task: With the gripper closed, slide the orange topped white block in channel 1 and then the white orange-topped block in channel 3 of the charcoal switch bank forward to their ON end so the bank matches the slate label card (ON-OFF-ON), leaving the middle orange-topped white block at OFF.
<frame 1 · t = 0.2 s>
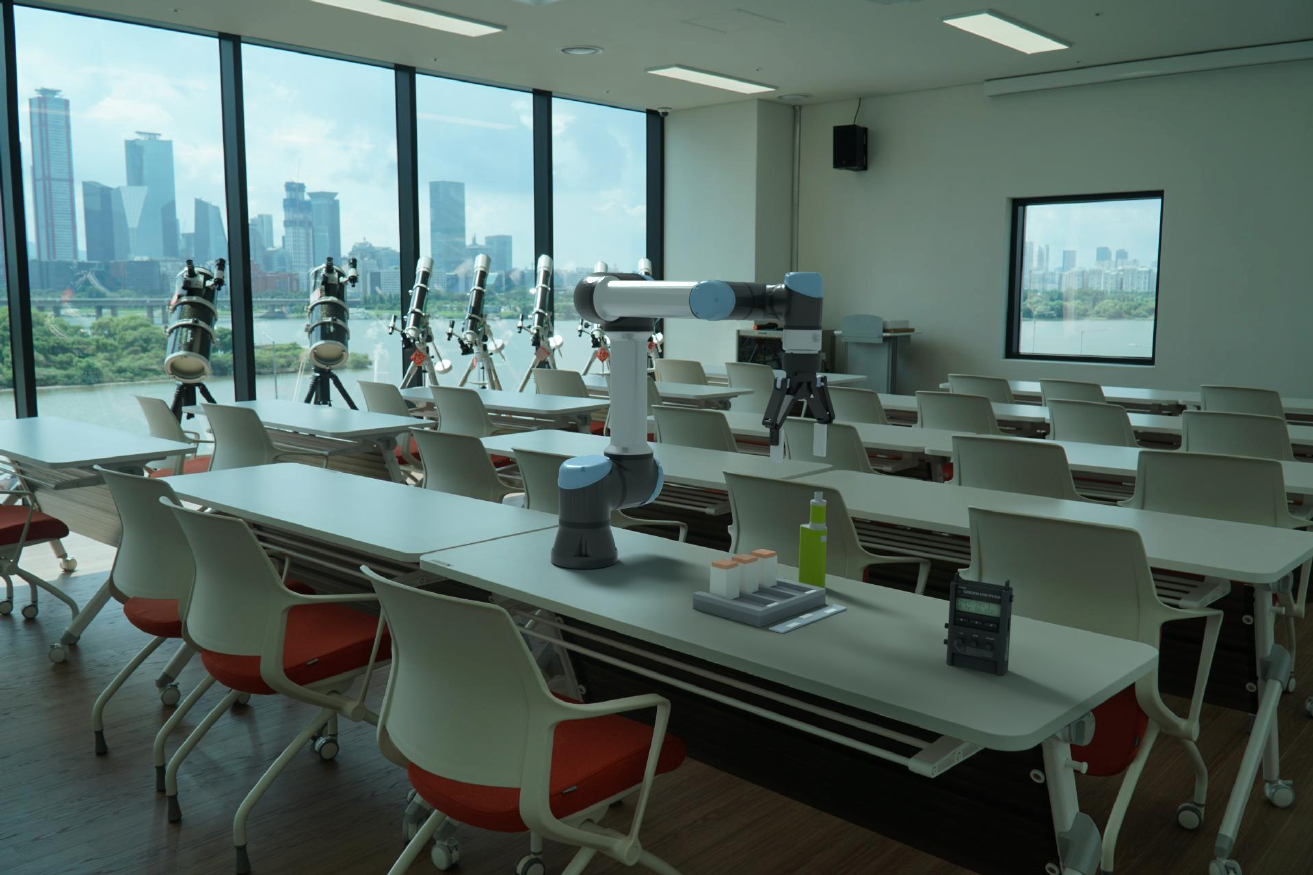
hand: (798, 459, 198), 28 cm above the table, fingers open, 13 cm apart
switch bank: (759, 605, 193), on the table
geiger counter: (974, 668, 161), on the table
orange-topped white block 2: (744, 573, 195), point 6 cm above the table, slide at 0.0 cm
orange topped white block 1: (724, 579, 191), point 6 cm above the table, slide at 0.0 cm
white orange-topped block 3: (762, 568, 199), point 6 cm above the table, slide at 0.0 cm
vape: (811, 587, 207), on the table
label card: (809, 618, 185), on the table
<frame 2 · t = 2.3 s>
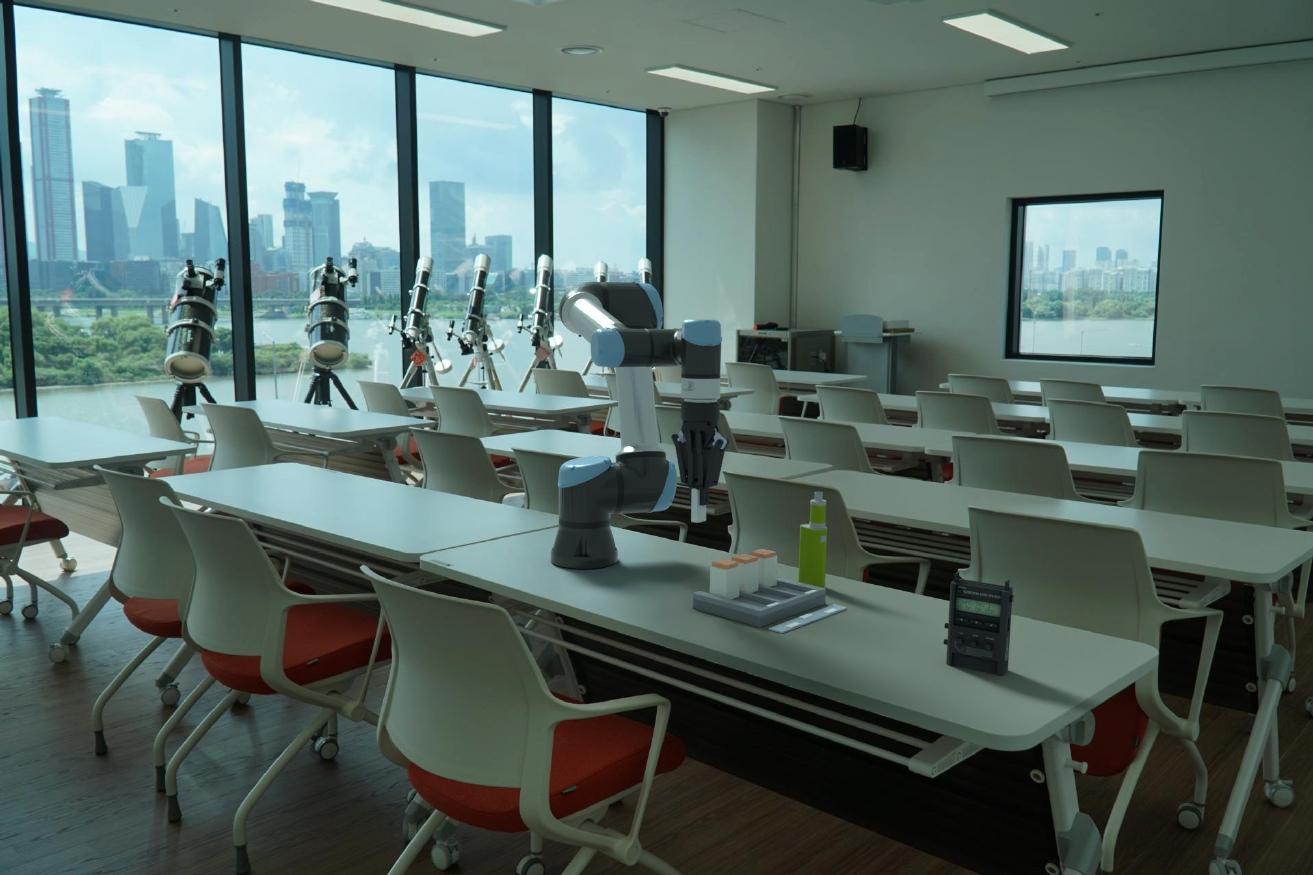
hand: (698, 521, 194), 16 cm above the table, fingers closed
nothing on the table moved.
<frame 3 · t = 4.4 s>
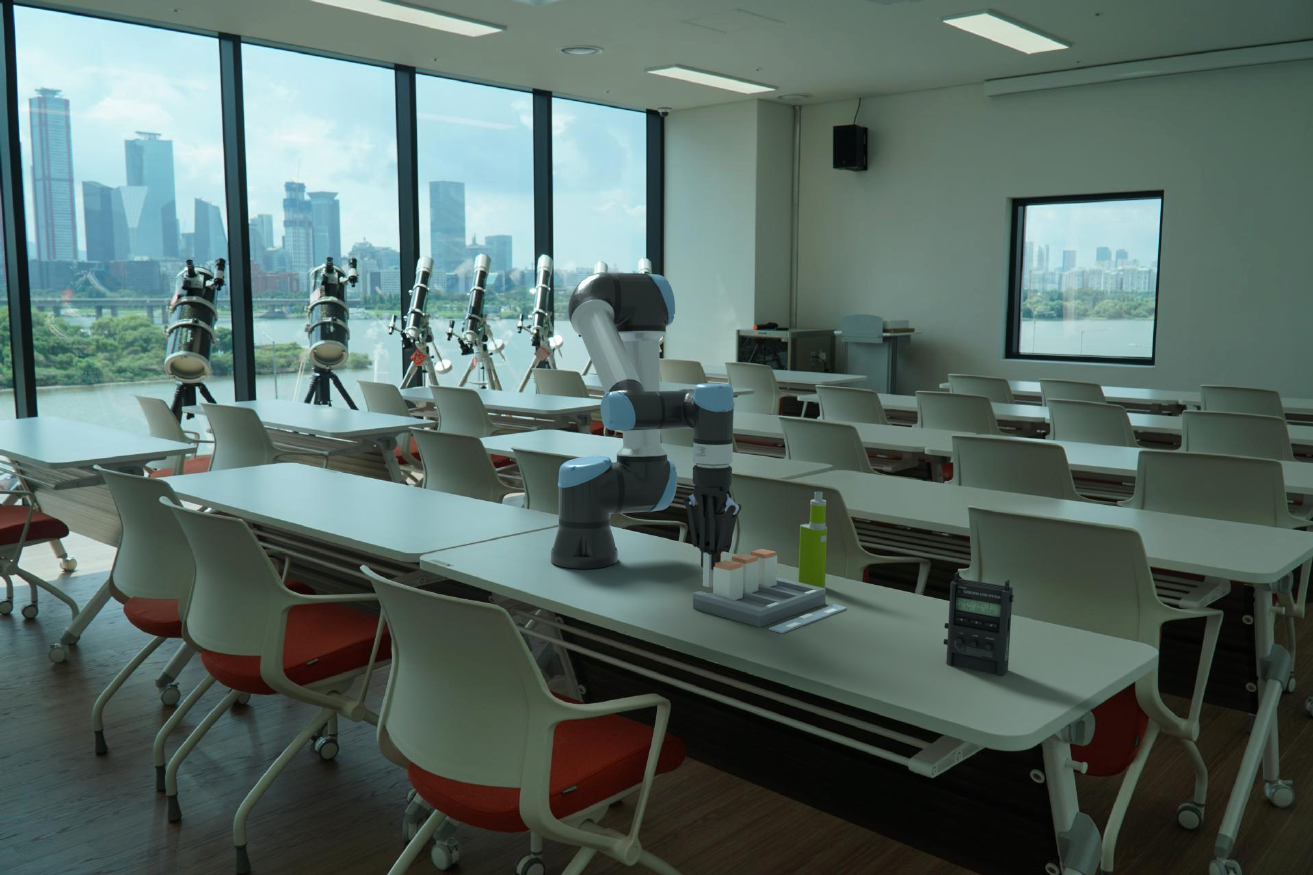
hand: (710, 585, 193), 4 cm above the table, fingers closed
orange topped white block 1: (728, 580, 190), point 6 cm above the table, slide at 0.8 cm, touching gripper
everything else where it was.
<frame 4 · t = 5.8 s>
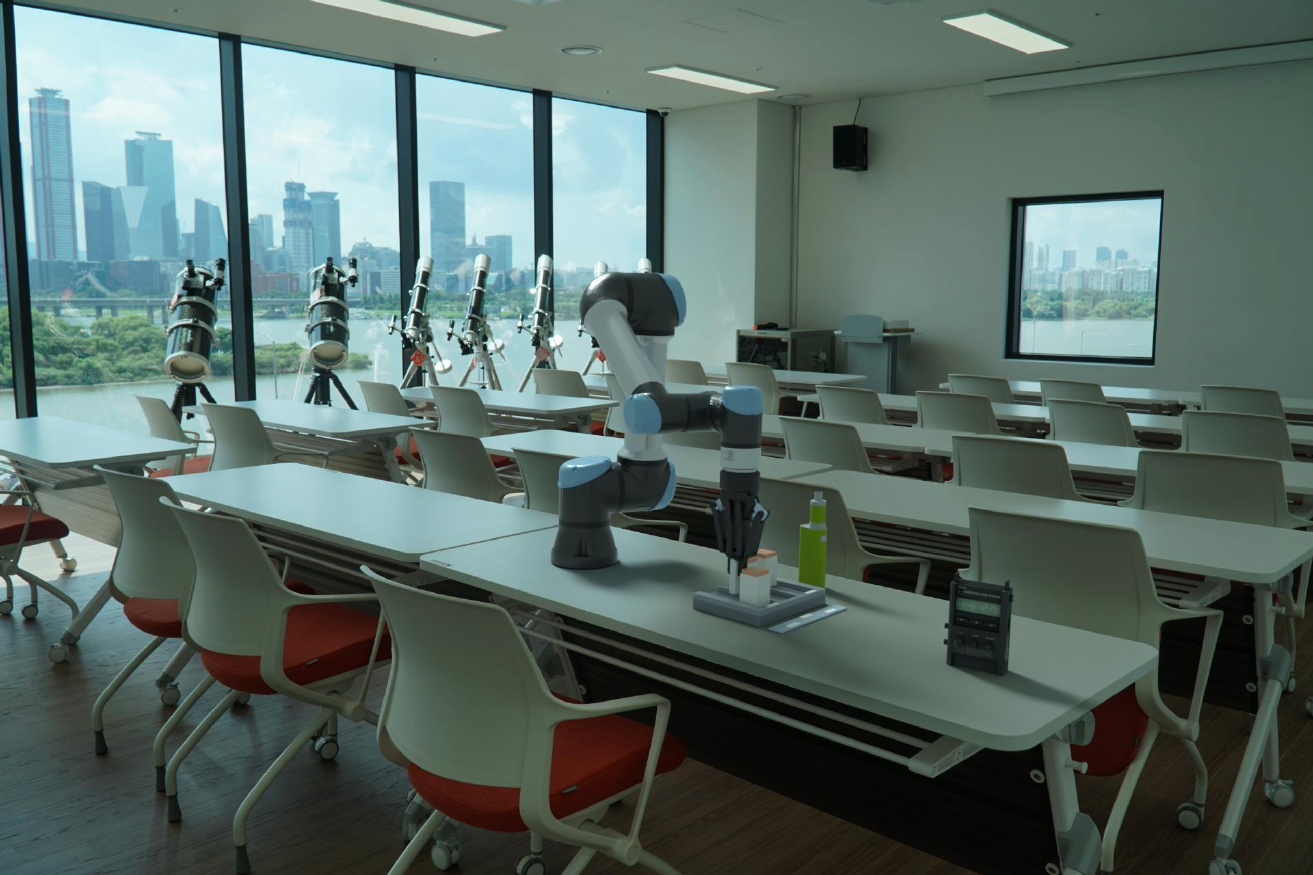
hand: (736, 591, 189), 4 cm above the table, fingers closed
orange topped white block 1: (755, 587, 186), point 6 cm above the table, slide at 7.3 cm, touching gripper
everything else where it was.
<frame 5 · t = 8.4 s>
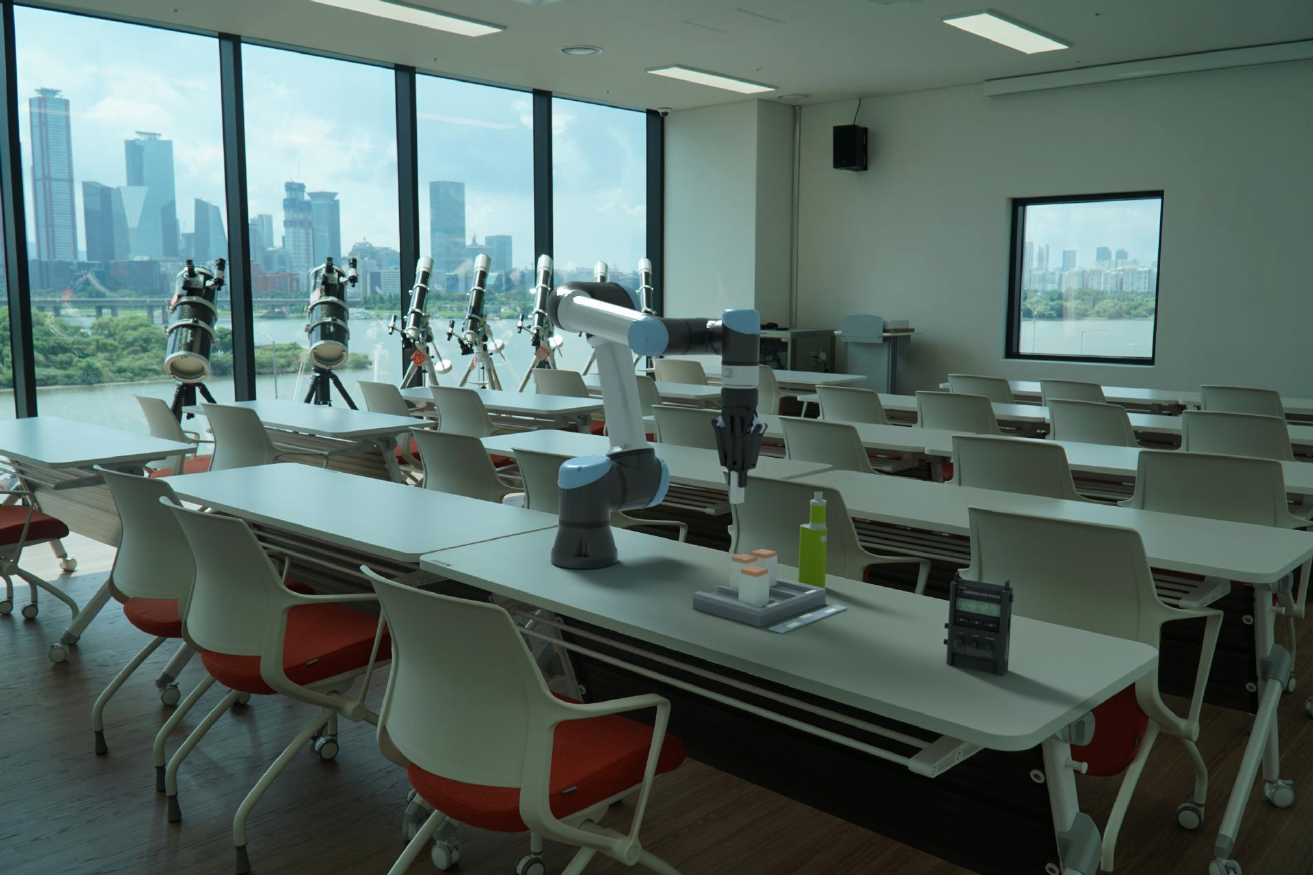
hand: (737, 502, 202), 18 cm above the table, fingers closed
orange topped white block 1: (753, 586, 186), point 6 cm above the table, slide at 7.0 cm
everything else where it was.
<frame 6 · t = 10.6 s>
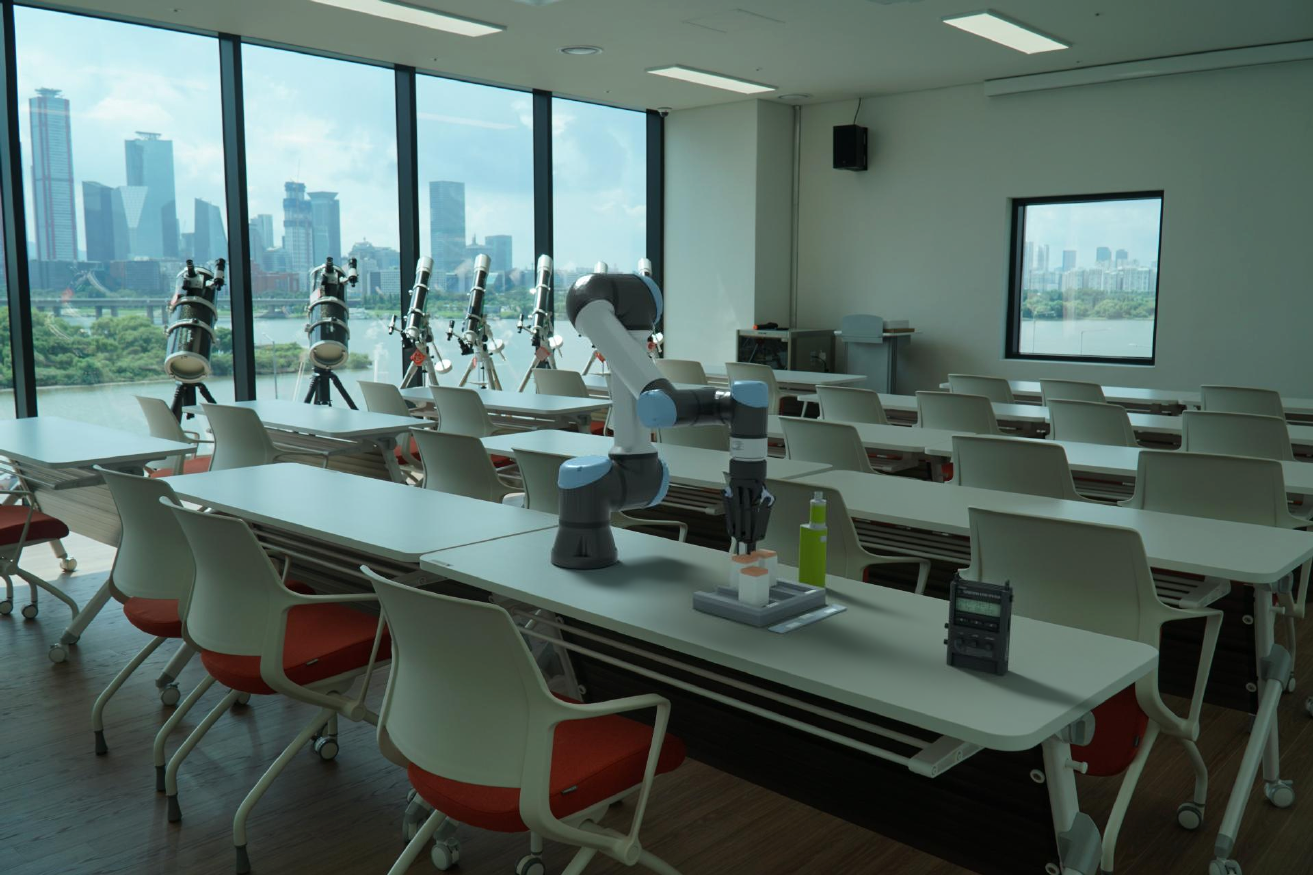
hand: (745, 572, 202), 4 cm above the table, fingers closed
white orange-topped block 3: (763, 568, 199), point 6 cm above the table, slide at 0.0 cm, touching gripper
everything else where it was.
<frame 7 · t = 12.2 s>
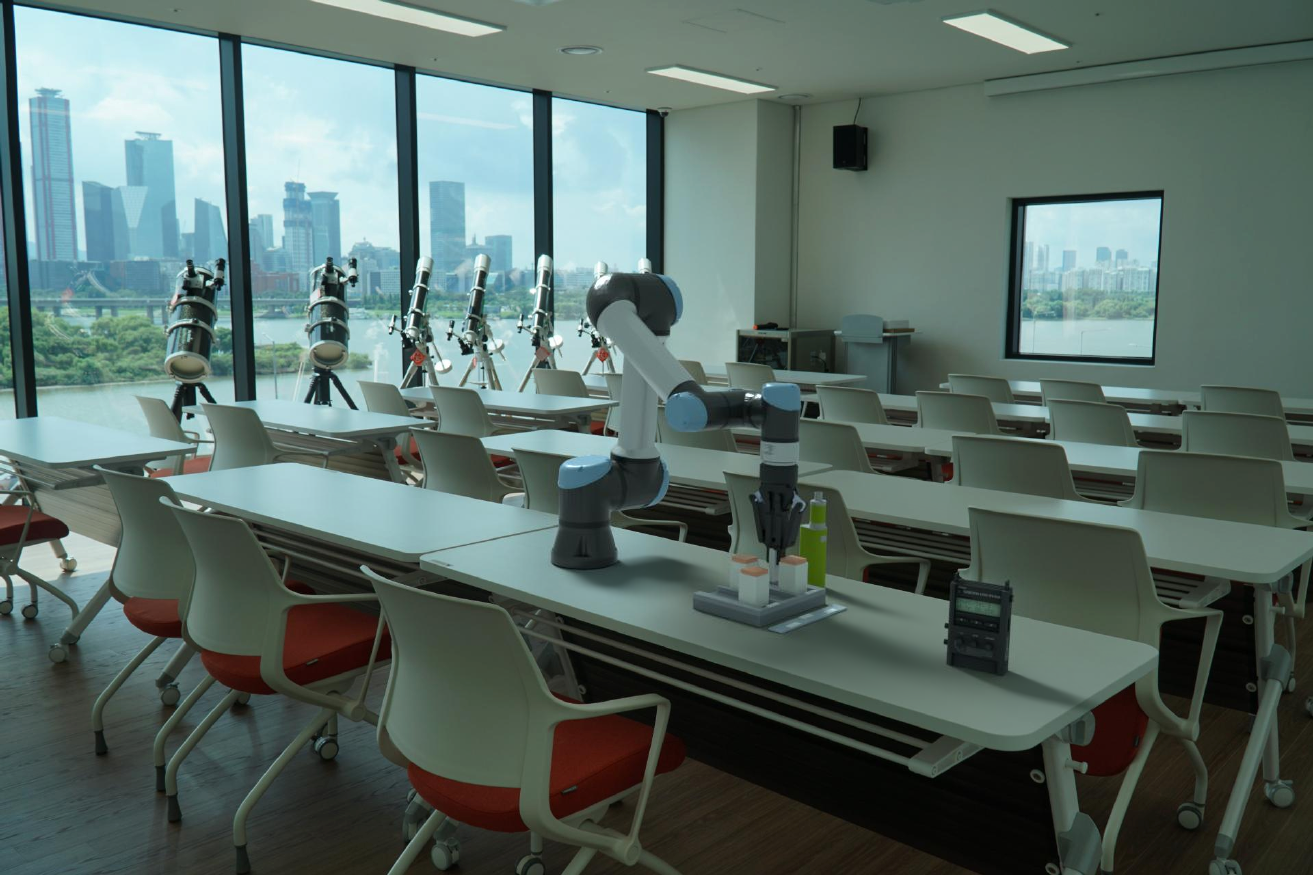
hand: (775, 580, 197), 4 cm above the table, fingers closed
white orange-topped block 3: (793, 575, 194), point 6 cm above the table, slide at 7.3 cm, touching gripper
everything else where it was.
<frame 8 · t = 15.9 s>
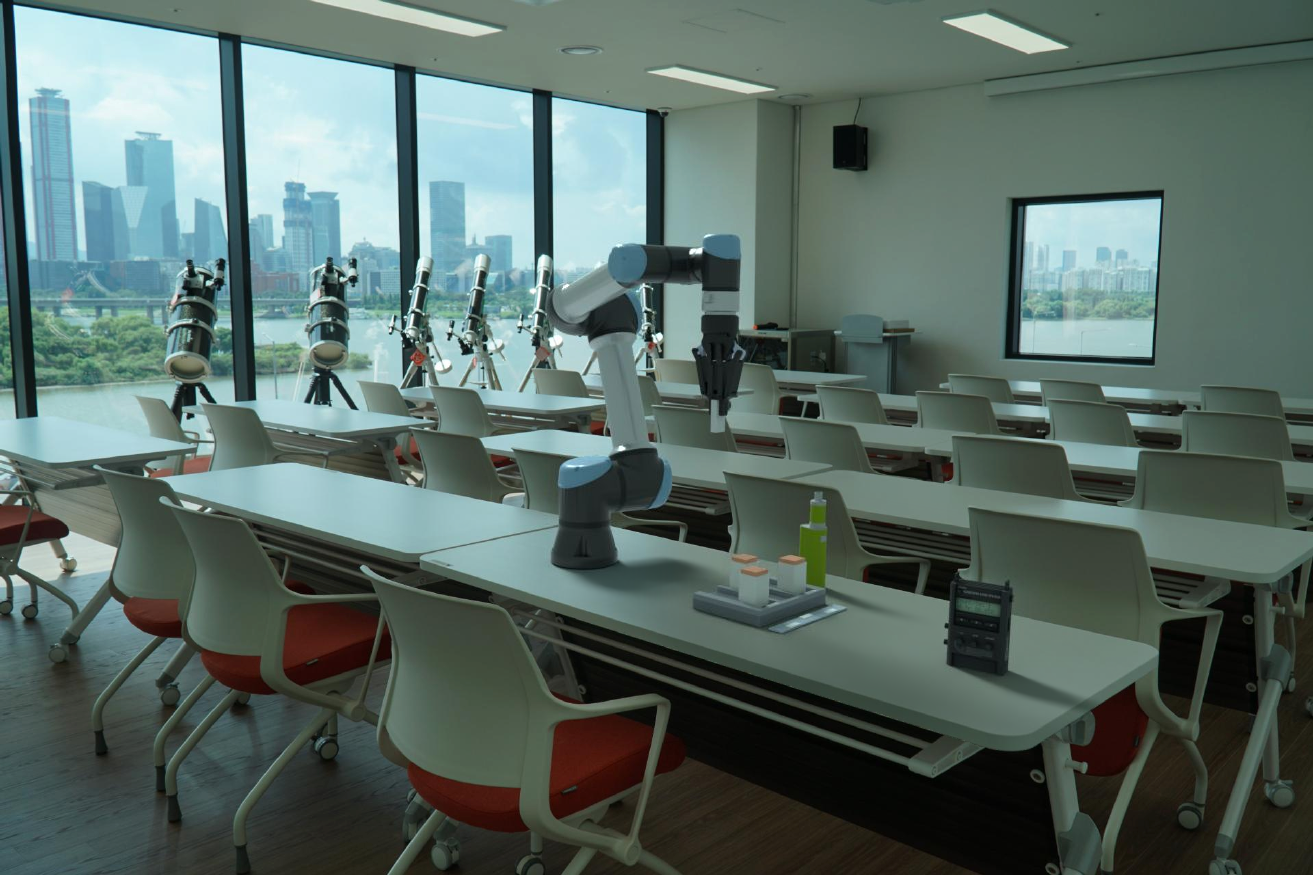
hand: (717, 431, 201), 32 cm above the table, fingers closed
white orange-topped block 3: (791, 574, 195), point 6 cm above the table, slide at 7.0 cm
everything else where it was.
at the end: orange topped white block 1 slide at 7.0 cm; white orange-topped block 3 slide at 7.0 cm; orange-topped white block 2 slide at 0.0 cm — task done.
